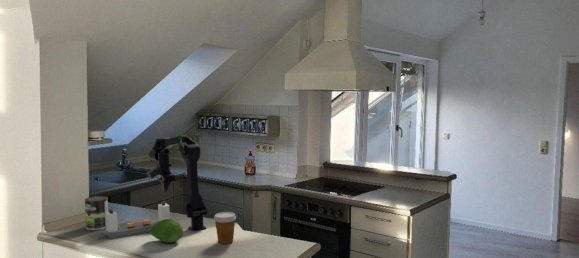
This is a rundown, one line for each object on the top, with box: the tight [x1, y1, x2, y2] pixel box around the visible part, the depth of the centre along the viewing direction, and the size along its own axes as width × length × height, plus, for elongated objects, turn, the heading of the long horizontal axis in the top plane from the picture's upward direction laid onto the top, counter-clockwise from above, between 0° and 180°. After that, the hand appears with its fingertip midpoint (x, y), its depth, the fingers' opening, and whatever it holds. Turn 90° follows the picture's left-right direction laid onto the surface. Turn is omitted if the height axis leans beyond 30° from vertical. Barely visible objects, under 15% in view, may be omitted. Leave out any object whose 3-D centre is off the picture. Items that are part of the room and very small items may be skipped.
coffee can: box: [84, 195, 109, 231], centre depth 222 cm, size 10×10×14 cm
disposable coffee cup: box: [213, 211, 237, 245], centre depth 198 cm, size 10×10×12 cm
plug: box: [157, 200, 171, 221], centre depth 221 cm, size 5×4×10 cm
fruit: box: [149, 218, 184, 244], centre depth 200 cm, size 15×10×10 cm, turn 64°
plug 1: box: [105, 208, 119, 232], centre depth 208 cm, size 5×4×10 cm
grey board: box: [105, 219, 160, 240], centre depth 215 cm, size 8×28×2 cm, turn 123°
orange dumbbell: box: [126, 219, 151, 227], centre depth 215 cm, size 3×10×2 cm, turn 122°
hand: (165, 191), depth 237 cm, fingers closed
